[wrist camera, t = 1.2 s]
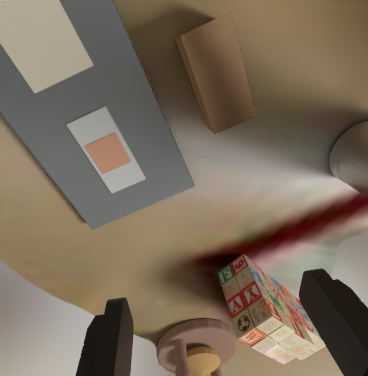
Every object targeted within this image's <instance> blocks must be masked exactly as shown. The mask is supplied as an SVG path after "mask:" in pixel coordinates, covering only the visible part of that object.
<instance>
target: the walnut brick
mask: <svg viewBox="0 0 368 376" xmlns="http://www.w3.org/2000/svg"><path fill="white" fill-rule="evenodd" d="M175 41H176V44H177V46H178V49H179V52H180V55H181V57H182V60H183V63H184V65H185V68H186V71H187V74H188V76H189V79H190V82H191V85H192V87H193V90H194V93H195V96H196V98H197V101H198V104H199V107H200V109H201V112H202V115H203V118H204V120H205V123H206V125H207V126H208V127H209V128H210V129H211V130H212V131H213V132H214V133H215V134H216V133H218V132H220V131H223V130H225V129H227V128H229V127H232V126H234V125H236V124H238V123H241V122H243V121H245V120H247V119H250V118H252V117H254V116H256V115H257V114H256V110H255V106H254V102H253V98H252V94H251V89H250V85H249V81H248V77H247V73H246V69H245V65H244V61H243V57H242V53H241V49H240V45H239V41H238V37H237V33H236V29H235V25H234V21H233V17H232V13H231V12H229V13H227V14H225V15H223V16H220V17H218V18H216V19H214V20H212V21H210V22H208V23H206V24H204V25H202V26H200V27H198V28H196V29H193V30H191V31H189V32H187V33H185V34H183V35H181V36H179V37H178V38H177V39H175Z"/></svg>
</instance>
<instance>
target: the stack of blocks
mask: <svg viewBox="0 0 368 376" xmlns="http://www.w3.org/2000/svg"><path fill="white" fill-rule="evenodd" d="M218 276H219V280H220V283H221V286H222V288H223V292H224V295H225V298H226V301H227V306H228V309H229V313H230V316H231V319H232V321H233V325H234V329H235V332H236V335H237V338H238V339H239V340H240V341H242V342H244V343H246V344H248V345H249V346H251V348H253V349H255V350H257V351H259V352H261V353H263V354H264V355H266V356H268V357H270V358H272V359H275V360H277V361H278V362H280V363H282V364H286V363H287V362H289V361H291V360H292V359H294V358H295V357H296V358H298V359H300V360H303V359H305V358H306V357H308V356H310V355H312V354H313V353H314V352H316V351H318V350H320V349H321V348H323V347H325V346H326V345H325V343H324V342H323V340H322V338H321V337H320V335H319V333H318V332H317V330H316V328H315V327H314V325H313V323H312V322H311V320H310V318H309V317H308V315H307V313H306V312H305V310H304V308H303V307H302V305H301V302H300V301H299V300H298V299H297V298H296V297H294V295H292V294H291V293H290V292H289V291H288V290H286V289H285V288H284V287H283V286H282V285H280V284H279V283H277V282H276V281H275V280H274V279H272V278H271V277H270V276H269V275H267V274H266V273H265V272H264V271H263V270H261V268H259V267H258V266H257V265H256V264H255V263H253V262H252V261H251V260H250V259H249V258H248V257H246V256H245V255H244V254H242V255H240V256H239V257H238V258H236V259H235V260H234V261H232V262H231V263H230V264H229V265H228V266H226V267H225V268H224V269H222V270H221V271H220V272H218Z"/></svg>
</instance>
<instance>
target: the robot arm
mask: <svg viewBox="0 0 368 376" xmlns="http://www.w3.org/2000/svg"><path fill="white" fill-rule="evenodd" d="M329 166H330V170H331V172H332V174H333V175H334V176H335V177H336V178H338V179H340V180H341V181H343V182H344V183H346V184H348V185H349V186H351V187H352V188H354V189H355V190H357V191H359V192H360V193H362V194H363V195H365V196H367V197H368V121H365V122H361V123H359V124H356V125H354V126H353V127H351V128H350V129H348V130H347V131H346V132H345V133H343V134H342V136H341V137H340V138H339V139H338V140H337V142H336V143H335V145H334V147H333V149H332V151H331V154H330V158H329ZM299 298H300V302H301V305H302V307H303V308H304V310H305V312H306V313H307V315H308V317H309V318H310V320H311V322H312V323H313V325H314V327H315V328H316V330H317V332H318V333H319V335H320V337H321V338H322V340H323V342H324V343H325V345H326V347H327V348H328V350H329V352H330V353H331V355H332V357H333V358H334V360H335V362H336V363H337V365H338V367H339V368H340V370H341V372H342V373H343V375H344V376H368V308H367V307H366V305H365V304H364V303H363V302H361V300H360V298H359V297H358V296H357V295H356V294H355V293H354V292H353V290H352V289H351V288H350V287H348V286H347V285H345V284H344V283H342V282H341V281H340V280H338V279H337V280H333V279H332V278H331V277H330V276H329V274H328V273H327V272H326V271H325V270H324V269H315V270H308V271H305V272H304V273H303V277H302V282H301V286H300V291H299ZM132 345H133V319H132V315H131V312H130V309H129V305H128V302H127V299H126V297H124V298H118V299H111V300H108V301H107V303H106V308H105V313H104V315H97V316H95V318H94V319H93V321H92V322H91V324H90V325H89V327H88V329H87V332H86V337H85V340H84V346H83V349H82V353H81V358H80V361H79V365H78V369H77V373H76V376H130V371H131V358H132V357H131V356H132Z"/></svg>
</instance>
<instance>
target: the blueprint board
mask: <svg viewBox="0 0 368 376" xmlns="http://www.w3.org/2000/svg"><path fill="white" fill-rule="evenodd" d="M0 113H1V114H2V115H3V117H4V118H5V119H6V120H7V122H8V123H9V124H10V126H11V127H12V128H13V129H14V131H15V132H16V133H17V134H18V136H19V137H20V138H21V140H22V141H23V142H24V143H25V145H26V146H27V147H28V148H29V150H30V151H31V152H32V154H33V155H34V156H35V157H36V159H37V160H38V161H39V163H40V164H41V165H42V166H43V168H44V169H45V170H46V171H47V173H48V174H49V175H50V177H51V178H52V179H53V180H54V182H55V183H56V184H57V185H58V187H59V188H60V189H61V191H62V192H63V193H64V194H65V196H66V197H67V198H68V200H69V201H70V202H71V203H72V205H73V206H74V207H75V208H76V210H77V211H78V212H79V214H80V215H81V216H82V217H83V219H84V220H85V221H86V222H87V224H88V225H89V226H90V228H91V229H92V230H93V229H95V228H97V227H100V226H102V225H104V224H107V223H109V222H112V221H114V220H116V219H119V218H121V217H123V216H126V215H128V214H130V213H133V212H135V211H137V210H140V209H142V208H145V207H147V206H149V205H152V204H154V203H156V202H159V201H161V200H163V199H166V198H168V197H171V196H173V195H175V194H178V193H180V192H182V191H185V190H187V189H189V188H192V187H194V186H195V185H194V183H193V180H192V178H191V176H190V173H189V171H188V169H187V167H186V164H185V162H184V160H183V158H182V155H181V153H180V151H179V149H178V146H177V144H176V142H175V140H174V137H173V135H172V133H171V131H170V128H169V126H168V124H167V121H166V119H165V117H164V115H163V112H162V110H161V108H160V106H159V103H158V101H157V99H156V97H155V94H154V92H153V90H152V88H151V85H150V83H149V81H148V79H147V76H146V74H145V72H144V70H143V67H142V65H141V63H140V61H139V58H138V56H137V54H136V51H135V49H134V47H133V45H132V42H131V40H130V38H129V36H128V33H127V31H126V29H125V27H124V24H123V22H122V20H121V18H120V15H119V13H118V11H117V9H116V6H115V4H114V2H113V0H0Z"/></svg>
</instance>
